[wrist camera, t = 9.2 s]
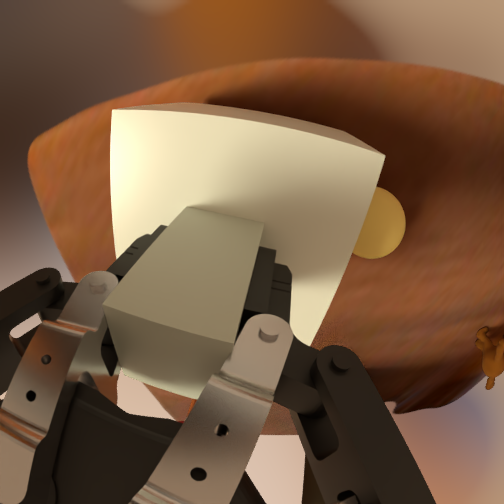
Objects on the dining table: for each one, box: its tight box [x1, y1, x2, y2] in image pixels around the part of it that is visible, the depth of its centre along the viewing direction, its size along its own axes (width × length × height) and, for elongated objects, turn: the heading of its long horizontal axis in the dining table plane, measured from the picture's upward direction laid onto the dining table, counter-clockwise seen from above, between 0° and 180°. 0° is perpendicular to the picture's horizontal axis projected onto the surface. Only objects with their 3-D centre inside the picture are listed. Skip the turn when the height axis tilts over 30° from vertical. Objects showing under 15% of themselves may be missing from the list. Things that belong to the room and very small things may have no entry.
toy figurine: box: [475, 327, 504, 390], centre depth 22 cm, size 12×4×7 cm, turn 30°
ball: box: [352, 187, 406, 259], centre depth 18 cm, size 5×5×5 cm
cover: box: [102, 102, 385, 399], centre depth 13 cm, size 11×11×15 cm
